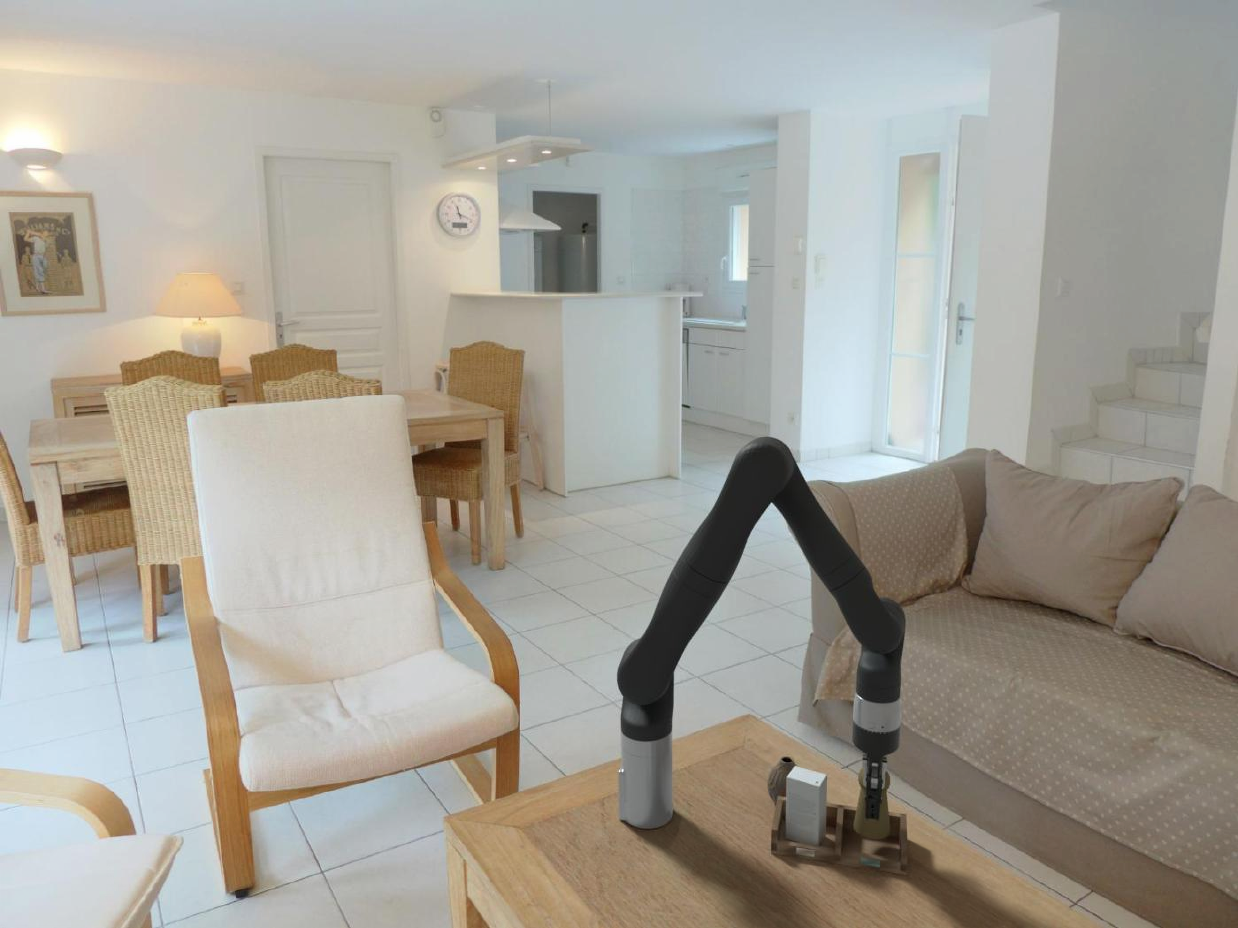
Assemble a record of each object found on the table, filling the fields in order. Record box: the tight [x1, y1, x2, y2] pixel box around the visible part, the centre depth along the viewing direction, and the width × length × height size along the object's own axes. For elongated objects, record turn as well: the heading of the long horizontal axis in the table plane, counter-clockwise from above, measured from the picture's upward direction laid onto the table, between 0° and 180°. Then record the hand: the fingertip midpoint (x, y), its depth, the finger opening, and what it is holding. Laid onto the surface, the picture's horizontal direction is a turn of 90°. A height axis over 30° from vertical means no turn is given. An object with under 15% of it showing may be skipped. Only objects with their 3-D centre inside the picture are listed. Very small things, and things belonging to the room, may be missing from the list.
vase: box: [767, 755, 799, 805], centre depth 167 cm, size 7×7×9 cm
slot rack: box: [770, 796, 909, 876], centre depth 155 cm, size 22×10×5 cm, turn 74°
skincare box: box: [786, 765, 828, 846], centre depth 155 cm, size 6×4×12 cm
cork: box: [854, 767, 891, 839], centre depth 152 cm, size 6×6×11 cm
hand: (872, 810), depth 152 cm, fingers closed on cork, 3 cm apart
